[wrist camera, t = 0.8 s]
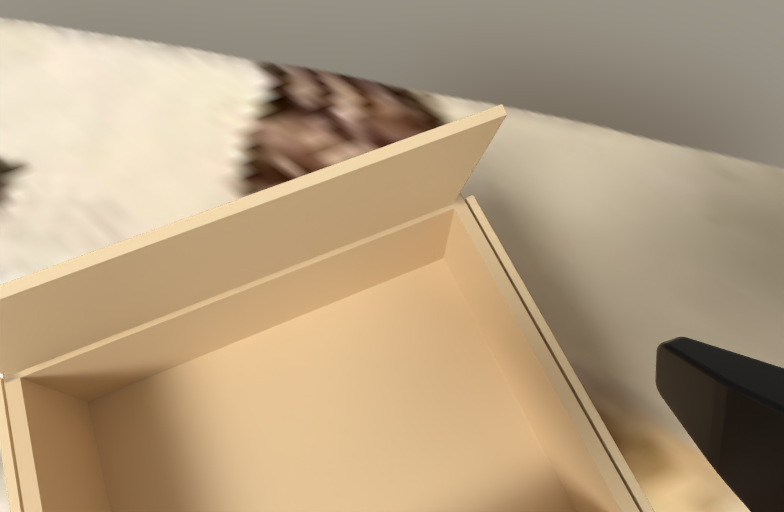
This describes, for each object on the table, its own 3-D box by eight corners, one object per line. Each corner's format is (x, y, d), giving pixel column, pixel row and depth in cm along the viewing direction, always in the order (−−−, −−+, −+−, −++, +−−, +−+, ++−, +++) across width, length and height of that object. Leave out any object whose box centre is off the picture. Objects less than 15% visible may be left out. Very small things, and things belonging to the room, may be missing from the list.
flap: (452, 203, 21) (507, 114, 14) (14, 373, 18) (-180, 364, 11) (449, 196, 21) (502, 104, 14) (11, 364, 18) (-184, 350, 11)
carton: (615, 541, 21) (677, 549, 17) (140, 792, 18) (57, 887, 14) (456, 245, 26) (471, 189, 22) (64, 402, 23) (-15, 376, 19)
